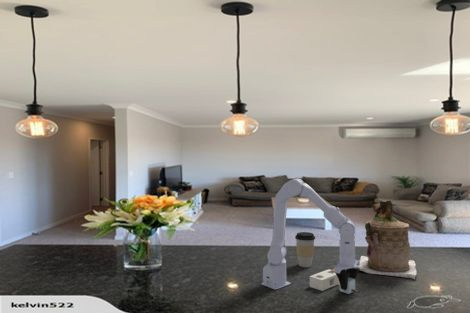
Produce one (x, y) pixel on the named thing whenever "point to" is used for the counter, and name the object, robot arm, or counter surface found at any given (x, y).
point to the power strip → (324, 280)
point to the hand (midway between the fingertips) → (347, 287)
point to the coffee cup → (305, 248)
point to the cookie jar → (387, 245)
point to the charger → (349, 286)
